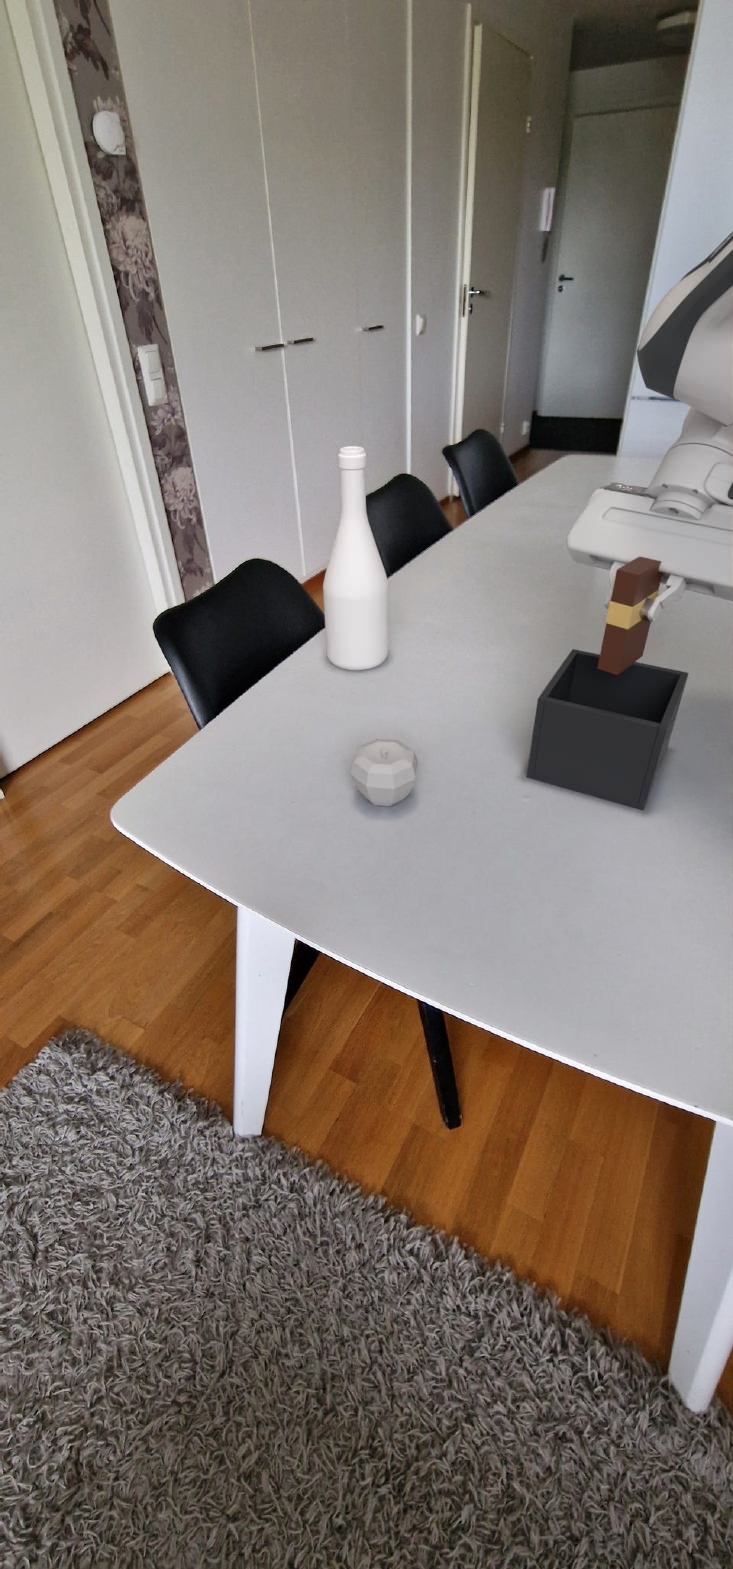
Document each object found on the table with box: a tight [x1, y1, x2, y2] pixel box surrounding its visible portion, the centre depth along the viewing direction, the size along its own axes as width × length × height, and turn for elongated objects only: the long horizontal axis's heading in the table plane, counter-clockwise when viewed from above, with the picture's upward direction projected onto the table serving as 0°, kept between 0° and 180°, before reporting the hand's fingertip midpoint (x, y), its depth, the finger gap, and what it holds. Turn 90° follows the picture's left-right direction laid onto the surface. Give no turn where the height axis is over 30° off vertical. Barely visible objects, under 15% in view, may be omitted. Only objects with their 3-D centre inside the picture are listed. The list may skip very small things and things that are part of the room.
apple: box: [349, 738, 419, 807], centre depth 79 cm, size 8×8×7 cm
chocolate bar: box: [597, 557, 663, 675], centre depth 74 cm, size 2×6×11 cm, turn 137°
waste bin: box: [525, 648, 689, 811], centre depth 82 cm, size 14×14×11 cm
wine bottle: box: [322, 445, 389, 671], centre depth 100 cm, size 10×10×30 cm
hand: (628, 614), depth 74 cm, fingers closed on chocolate bar, 2 cm apart
